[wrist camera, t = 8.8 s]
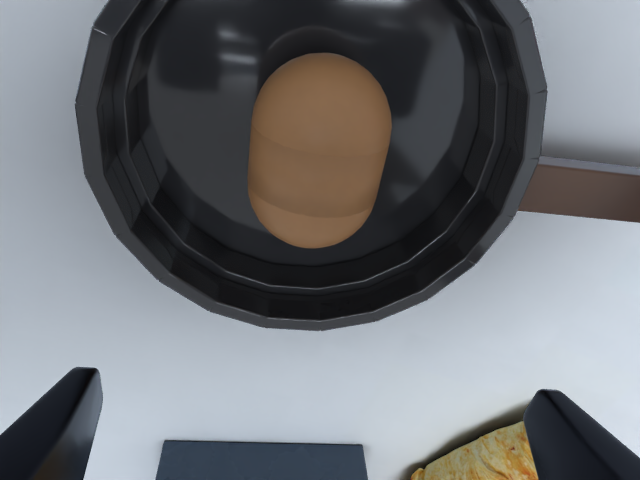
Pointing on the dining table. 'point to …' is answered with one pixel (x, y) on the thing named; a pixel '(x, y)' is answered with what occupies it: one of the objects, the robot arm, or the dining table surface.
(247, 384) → the dining table surface
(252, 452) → the hob control
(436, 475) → the croissant
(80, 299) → the dining table surface
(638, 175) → the egg pan handle
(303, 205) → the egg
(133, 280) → the dining table surface
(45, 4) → the dining table surface
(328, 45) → the egg pan
